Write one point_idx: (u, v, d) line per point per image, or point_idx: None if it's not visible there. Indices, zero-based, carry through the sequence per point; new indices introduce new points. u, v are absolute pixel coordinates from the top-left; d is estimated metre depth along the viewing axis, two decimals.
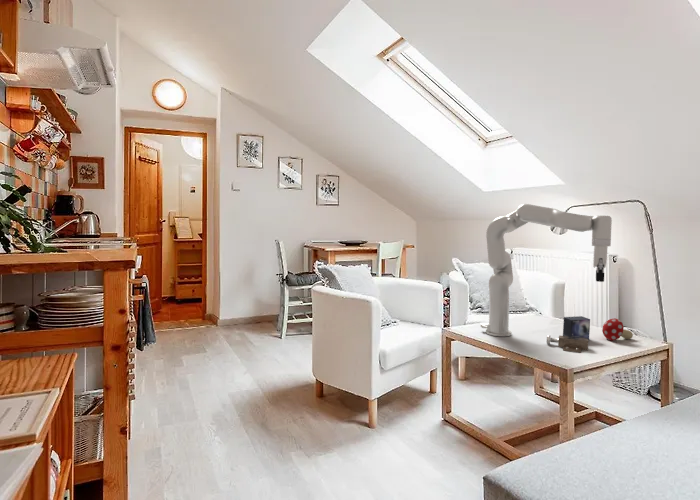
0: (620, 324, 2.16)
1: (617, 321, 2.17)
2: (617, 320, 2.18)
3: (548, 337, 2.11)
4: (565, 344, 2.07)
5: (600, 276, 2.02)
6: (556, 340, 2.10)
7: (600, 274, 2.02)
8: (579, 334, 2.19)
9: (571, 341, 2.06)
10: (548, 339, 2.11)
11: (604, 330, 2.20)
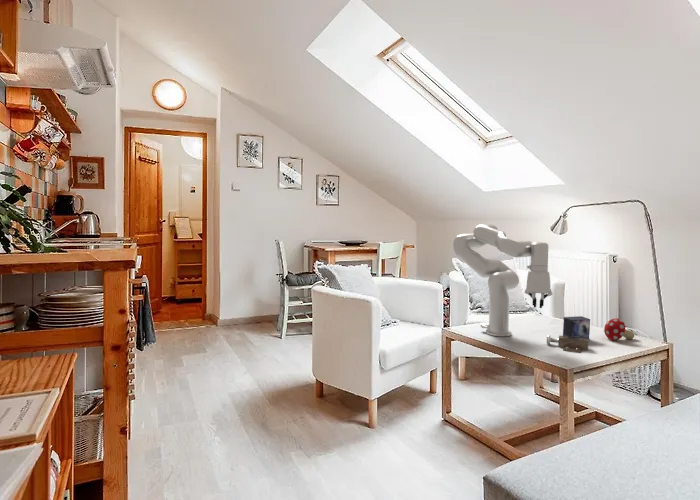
0: (622, 324, 2.16)
1: (619, 321, 2.17)
2: (619, 320, 2.18)
3: (548, 337, 2.11)
4: (565, 344, 2.07)
5: (543, 302, 2.13)
6: (556, 340, 2.10)
7: (543, 300, 2.13)
8: (579, 334, 2.19)
9: (571, 341, 2.06)
10: (548, 339, 2.11)
11: (606, 330, 2.20)
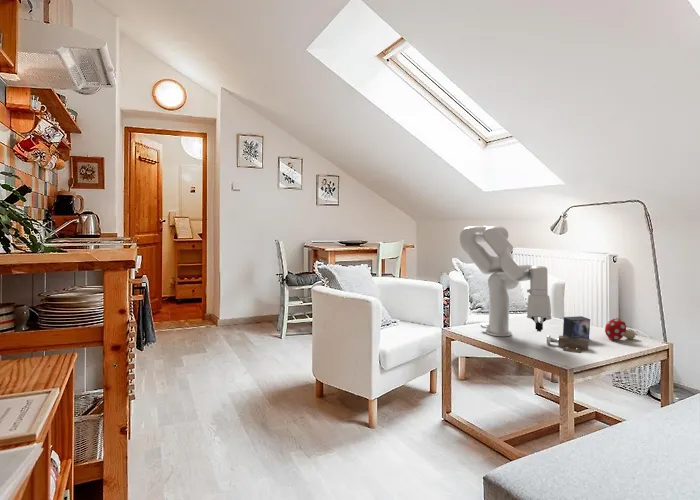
0: (623, 324, 2.16)
1: (620, 321, 2.18)
2: (620, 320, 2.18)
3: (548, 337, 2.11)
4: (565, 344, 2.07)
5: (542, 326, 2.13)
6: (556, 340, 2.10)
7: (542, 324, 2.13)
8: (579, 334, 2.19)
9: (571, 341, 2.06)
10: (548, 339, 2.11)
11: (607, 330, 2.20)
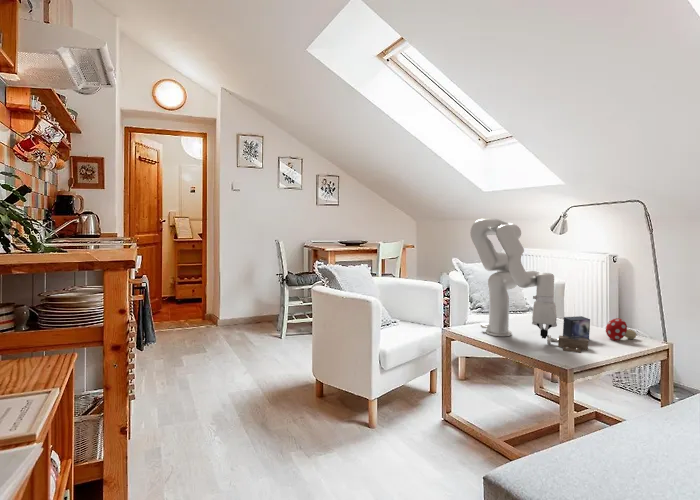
0: (624, 324, 2.16)
1: (620, 321, 2.18)
2: (620, 320, 2.18)
3: (549, 337, 2.11)
4: (565, 344, 2.07)
5: (547, 333, 2.13)
6: (557, 340, 2.10)
7: (547, 331, 2.13)
8: (579, 334, 2.19)
9: (571, 341, 2.06)
10: (549, 339, 2.11)
11: (607, 330, 2.20)
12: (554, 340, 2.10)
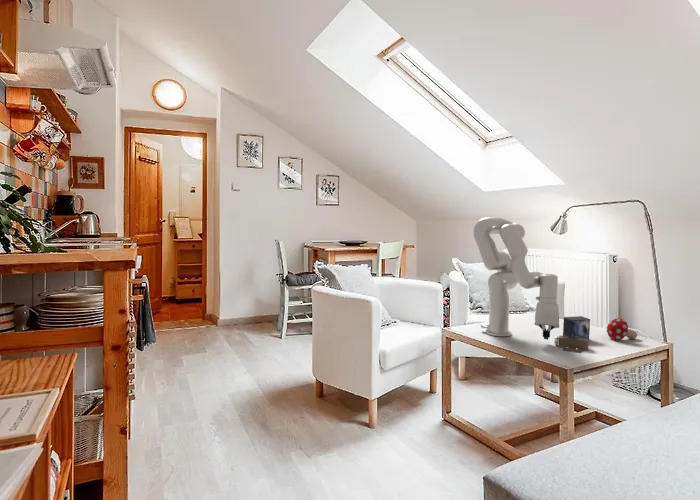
0: (625, 324, 2.16)
1: (621, 320, 2.18)
2: (621, 320, 2.18)
3: (556, 338, 2.10)
4: (565, 344, 2.07)
5: (549, 334, 2.12)
6: None
7: (549, 332, 2.12)
8: (579, 334, 2.19)
9: (571, 341, 2.06)
10: (556, 340, 2.09)
11: (608, 330, 2.20)
12: None
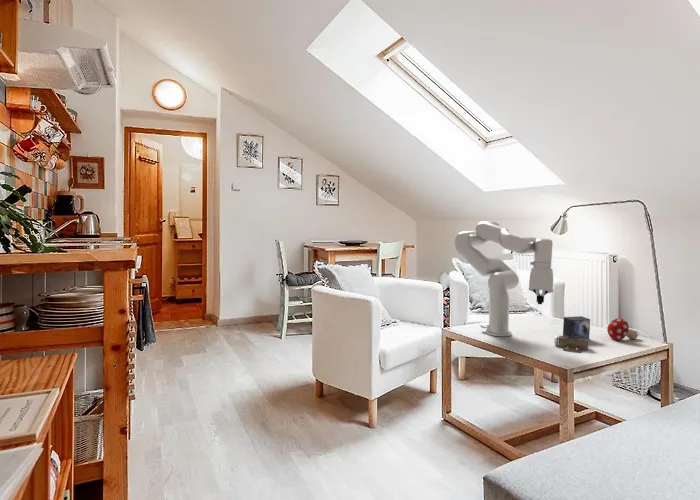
0: (626, 324, 2.16)
1: (622, 320, 2.18)
2: (622, 320, 2.18)
3: (556, 338, 2.10)
4: (565, 344, 2.07)
5: (543, 299, 2.13)
6: None
7: (543, 297, 2.13)
8: (579, 334, 2.19)
9: (571, 341, 2.06)
10: (556, 340, 2.09)
11: (609, 330, 2.20)
12: None
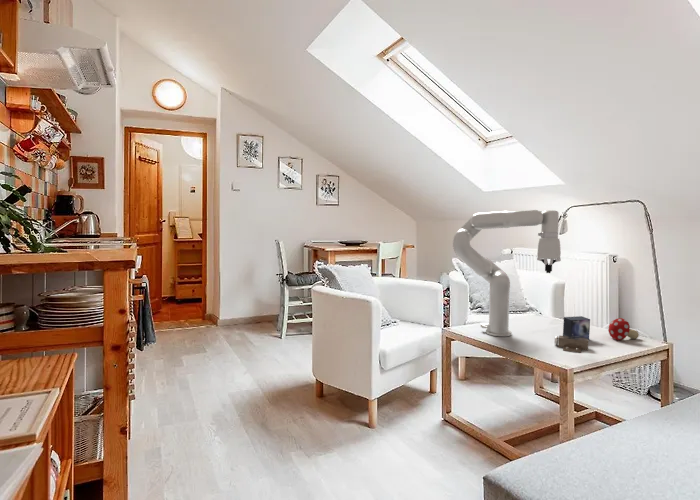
0: (627, 324, 2.16)
1: (623, 320, 2.18)
2: (623, 320, 2.18)
3: (556, 338, 2.10)
4: (565, 344, 2.07)
5: (551, 268, 2.23)
6: None
7: (551, 266, 2.23)
8: (579, 334, 2.19)
9: (571, 341, 2.06)
10: (556, 340, 2.09)
11: (610, 330, 2.20)
12: None
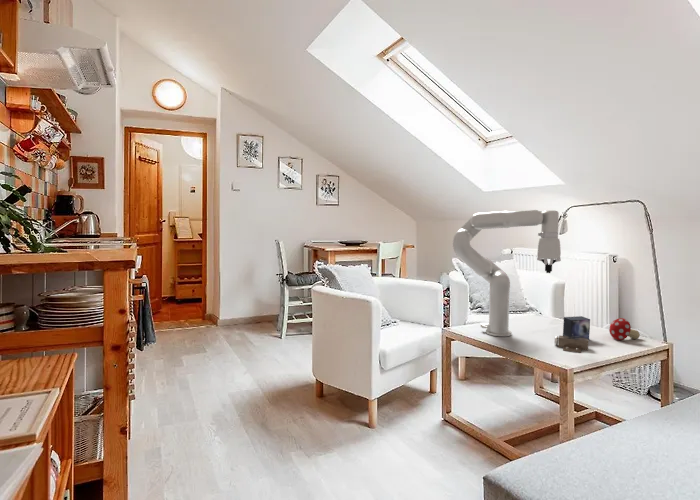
0: (628, 324, 2.16)
1: (624, 320, 2.18)
2: (624, 320, 2.18)
3: (556, 338, 2.10)
4: (565, 344, 2.07)
5: (551, 268, 2.23)
6: None
7: (551, 266, 2.23)
8: (579, 334, 2.19)
9: (571, 341, 2.06)
10: (556, 340, 2.09)
11: (611, 330, 2.20)
12: None
